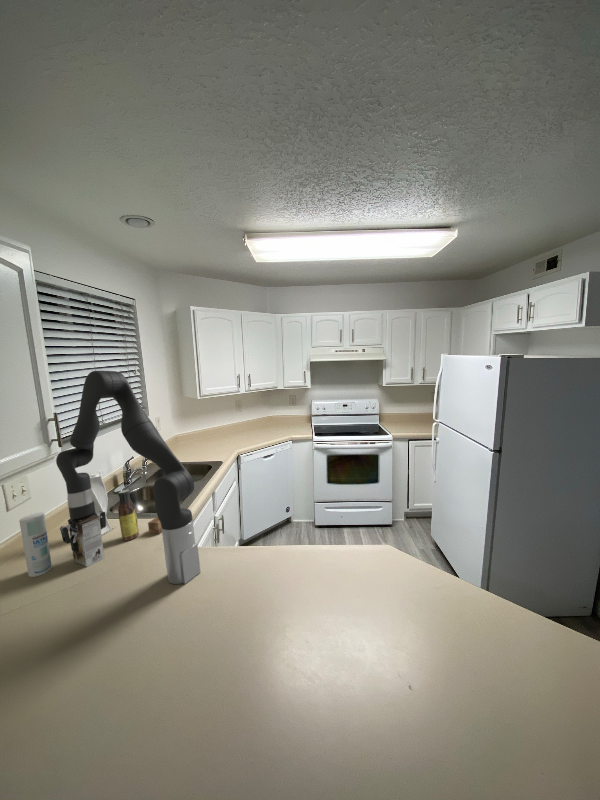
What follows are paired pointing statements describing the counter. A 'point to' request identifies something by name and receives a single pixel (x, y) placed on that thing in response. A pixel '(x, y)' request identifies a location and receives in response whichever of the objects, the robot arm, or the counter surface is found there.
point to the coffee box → (88, 541)
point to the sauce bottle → (127, 516)
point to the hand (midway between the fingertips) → (87, 546)
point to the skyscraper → (100, 497)
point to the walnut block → (155, 526)
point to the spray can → (35, 544)
